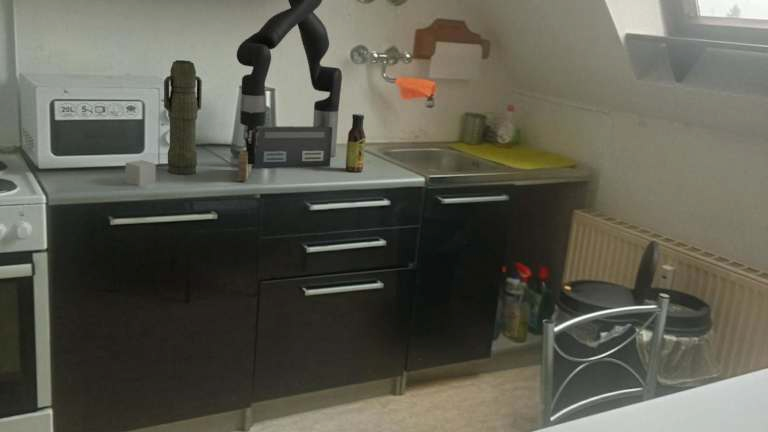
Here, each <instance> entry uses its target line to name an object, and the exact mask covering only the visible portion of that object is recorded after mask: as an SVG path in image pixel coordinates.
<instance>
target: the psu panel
mask: <svg viewBox="0 0 768 432" xmlns="http://www.w3.org/2000/svg"><path fill="white" fill-rule="evenodd" d="M257 130H259V135H258V144H257V149H256V153H255V164H254V165H253V164H252V169H273V168H274V169H281V168H284V169H285V168H316V167H317V168H319V167H322V168H323V167H330V166H331V158H332V157H331V142H332V127H313V126H288V125H287V126H286V125H285V126H281V125H280V126H277V125H275V126H264V125H262V126H257Z"/></svg>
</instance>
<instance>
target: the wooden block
mask: <svg viewBox="0 0 768 432" xmlns="http://www.w3.org/2000/svg"><path fill="white" fill-rule="evenodd" d="M237 167H238V168H237V169H238V171H237V172H238V174H237V181H239V182H247V180H248V178H249V175H250V173H251V172H252V170H253V164H248V152H247V150H246V145H243V148H242V149H241V151H240V152H239V154H238V165H237Z"/></svg>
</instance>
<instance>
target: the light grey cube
mask: <svg viewBox="0 0 768 432" xmlns="http://www.w3.org/2000/svg"><path fill="white" fill-rule="evenodd" d="M156 166H157V164H156V163H154V162H150V161H147V160H141V159H139V160H135V161H128V162H125V183H127V184H131V185H134V186H138V187H142V186H147V185H152V184H156V179H157V178H156V169H157V168H156Z"/></svg>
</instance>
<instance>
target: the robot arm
mask: <svg viewBox="0 0 768 432" xmlns="http://www.w3.org/2000/svg"><path fill="white" fill-rule="evenodd" d="M322 2H323V0H288V3H289V5H290V8H287V9H285V10H283V11H280V12H278V13H276V14H274V15H273V16H271V17H270V18H269V19H268V20H266V22H265V23H264V24H263V25H262V27H261V28H260V29H259V30H258V31H257V32H255V33H253V34H252V35H250V36H249V37H248V38H246V39H244V40H243V41H242V43H241V44H240V45H239V46H238V48H237V50H236V59H237V61H238V63H240V64H241V65H242V66H246V67H251V68H252V70H251V73H249V74H244V75H243V76H242V77H241V95H240V102H239V103H240V107H239V108H240V109H239V111H240V112H239V113H240V115H239V119H240V120H239V122H240V124H241V125H242V126H247V129H246V130H245V131H244V132H245V133H244V137H245V139H244V141H245V146H246V150H247V152H248V164H252V166H253V165H254V164H255V153H256V149H257V144H258V135H259V130H257V126H264V125H265V124H266V123H265V120H266V98H265V90H266V87H265V86H266V84H265V83H266V80H267V76H268V72H269V69H270V65H271V61H272V54H271V50H274V49H276V47H277V46H278V45H279V44H280V43H281V42H282V40H283V39H285V37H286V36H287V35H288V34H289V33H290V32H291V30H292V29H293V28H294V27H296V26H297V27H298V30H299V34H300V40H301V42H302V46H303V49H304V52H305V55H306V56H305V57H306V59H307V64H308V71H309V76H310V82H311V85H312V88H313V89H314V90H315V91H318V92H322V93H323V92H325V93H329V95H328V97H326V98H325V99H321V100H317V101H315V102H314V104H313V105H314V107H313V119H312V120H313V122H312V127H332V142H331V157H330V158H333V157H336V156H337V154H336V153H337V152H336V150H337V138H338V123H339V108H340V101H341V100H340V99H341V89H342V82H343V81H342V80H343V74H342V70H341V69H340V68H339V67H333V66H332V67H331V66H324V65H321V61H322V59H323V58H324V56H326V54H327V52H328V50H329V48H330V47H329V46H330V40H329V35H328V31H327V28H326V27H325V24H324V23H323V21H322V20H321V19H320V18H319V17H318V16H317V15H316V13H315V12H314V11H315V10H317V9H318V8H319V7H320V6H321V4H322Z"/></svg>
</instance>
